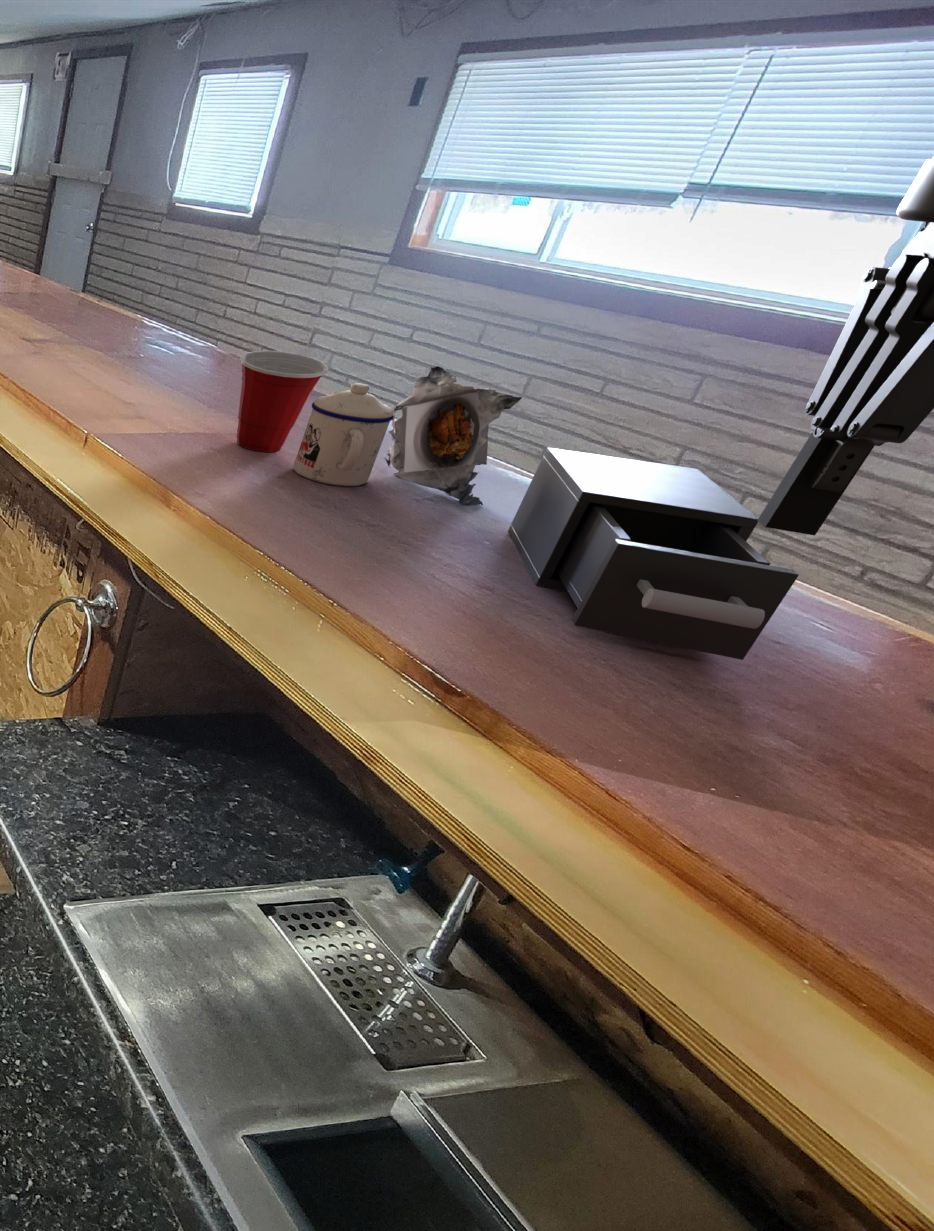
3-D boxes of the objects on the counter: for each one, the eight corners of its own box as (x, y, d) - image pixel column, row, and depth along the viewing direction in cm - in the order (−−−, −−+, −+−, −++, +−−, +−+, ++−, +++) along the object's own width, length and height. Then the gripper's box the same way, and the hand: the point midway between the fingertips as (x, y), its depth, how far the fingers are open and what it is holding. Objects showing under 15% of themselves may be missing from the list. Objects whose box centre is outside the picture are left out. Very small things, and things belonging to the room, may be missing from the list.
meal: (487, 505, 108) (536, 397, 101) (456, 505, 107) (503, 396, 101) (399, 464, 121) (437, 365, 114) (371, 464, 120) (407, 365, 114)
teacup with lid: (286, 460, 120) (314, 372, 114) (360, 469, 118) (393, 380, 112) (299, 489, 110) (331, 394, 105) (381, 500, 108) (418, 404, 102)
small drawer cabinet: (699, 617, 83) (760, 519, 79) (535, 585, 88) (583, 491, 83) (648, 556, 96) (698, 468, 91) (507, 531, 101) (547, 447, 96)
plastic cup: (216, 451, 123) (241, 361, 117) (217, 430, 131) (240, 346, 125) (303, 463, 119) (333, 372, 113) (298, 442, 128) (326, 356, 122)
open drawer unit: (763, 684, 71) (824, 596, 67) (586, 647, 75) (633, 562, 71) (684, 592, 86) (730, 515, 82) (540, 565, 90) (577, 491, 86)
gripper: (884, 147, 58) (688, 490, 70) (1008, 146, 48) (753, 548, 60) (1045, 155, 56) (813, 510, 67) (1213, 155, 45) (904, 574, 57)
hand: (785, 527), depth 64 cm, fingers closed
